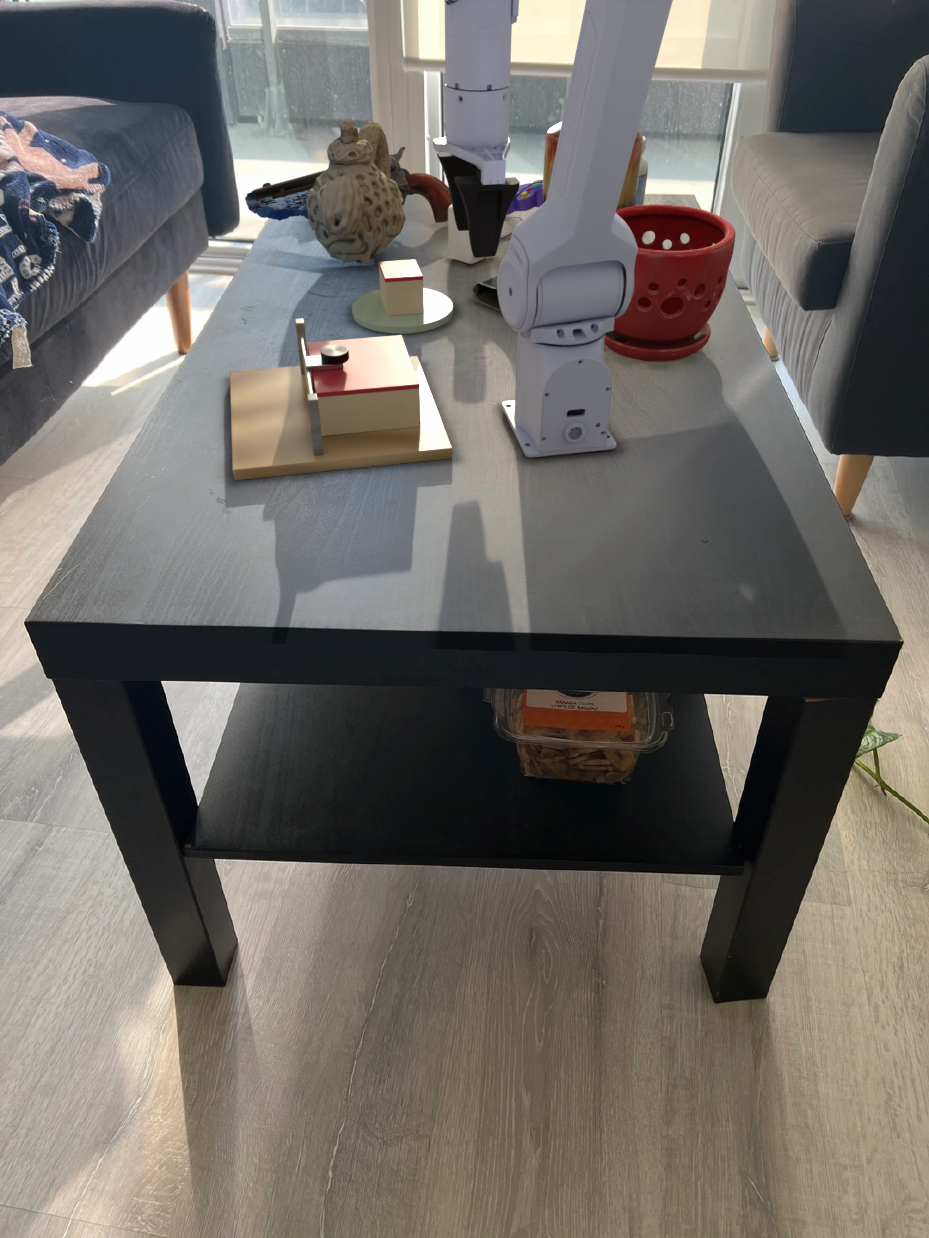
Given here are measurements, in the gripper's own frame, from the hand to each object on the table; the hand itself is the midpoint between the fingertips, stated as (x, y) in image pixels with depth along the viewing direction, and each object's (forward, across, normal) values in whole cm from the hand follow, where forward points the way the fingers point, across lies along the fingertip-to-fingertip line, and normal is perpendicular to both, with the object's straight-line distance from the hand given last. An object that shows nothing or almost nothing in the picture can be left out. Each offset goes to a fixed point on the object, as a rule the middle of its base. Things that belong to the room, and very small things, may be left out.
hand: (475, 242), depth 91 cm
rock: (+3, -46, -11) cm, 47 cm away
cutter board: (+9, +15, -16) cm, 24 cm away
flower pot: (+10, +6, +17) cm, 20 cm away
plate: (+9, -7, -6) cm, 13 cm away
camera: (+10, -6, +6) cm, 13 cm away
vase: (+10, -17, +17) cm, 26 cm away
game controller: (+10, -32, +13) cm, 35 cm away
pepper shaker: (+10, -22, +4) cm, 24 cm away
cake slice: (+9, -7, -7) cm, 13 cm away
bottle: (+10, -28, +25) cm, 39 cm away
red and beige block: (+8, +15, -13) cm, 22 cm away
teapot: (+9, -25, -9) cm, 28 cm away
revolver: (+10, -34, -6) cm, 36 cm away
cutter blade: (+8, +15, -16) cm, 23 cm away
